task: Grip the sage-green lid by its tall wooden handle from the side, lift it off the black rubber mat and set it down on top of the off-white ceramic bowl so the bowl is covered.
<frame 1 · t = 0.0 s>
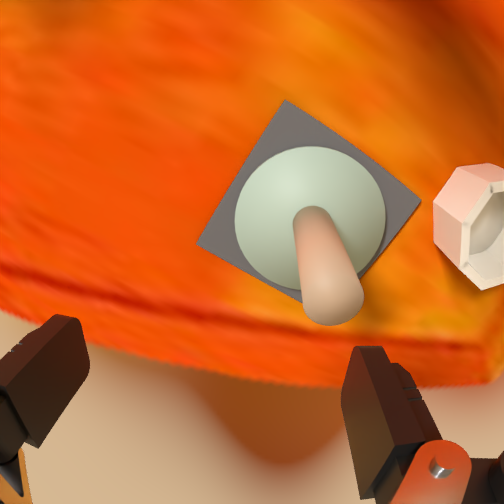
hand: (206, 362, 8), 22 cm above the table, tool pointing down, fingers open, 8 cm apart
bowl: (474, 214, 28), on the table
lid: (311, 220, 29), resting on mat
mat: (310, 218, 30), on the table
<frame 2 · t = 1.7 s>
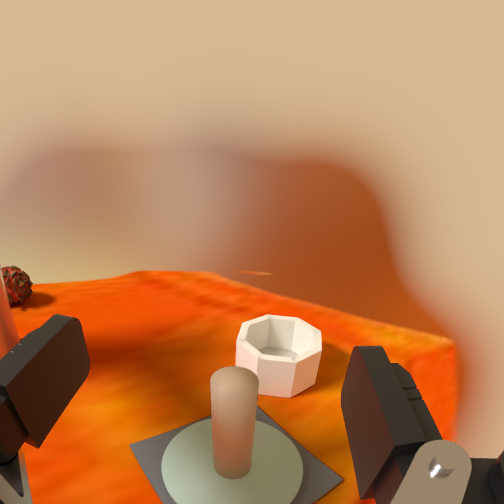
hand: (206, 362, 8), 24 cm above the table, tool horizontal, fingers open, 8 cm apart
bowl: (276, 370, 44), on the table
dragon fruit: (13, 302, 53), on the table
lid: (232, 469, 26), resting on mat
mat: (232, 472, 27), on the table
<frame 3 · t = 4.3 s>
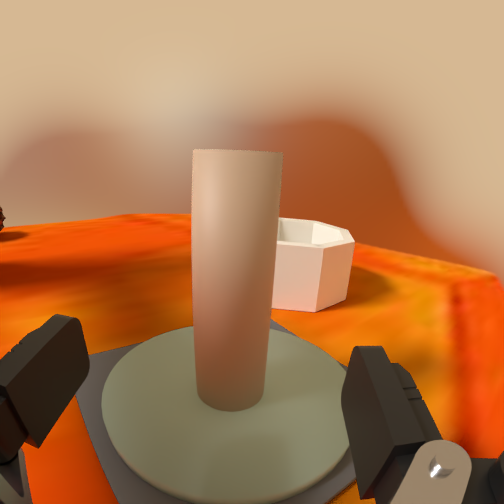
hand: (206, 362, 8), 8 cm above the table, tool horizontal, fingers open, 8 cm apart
bowl: (291, 285, 34), on the table
lid: (229, 401, 16), resting on mat
mat: (229, 406, 17), on the table
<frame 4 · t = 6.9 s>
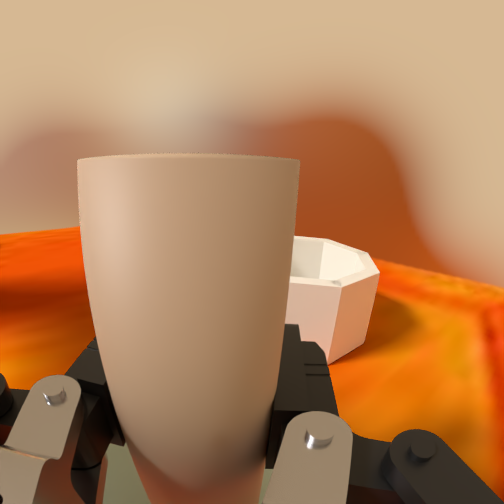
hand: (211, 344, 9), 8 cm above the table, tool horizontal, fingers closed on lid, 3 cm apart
bowl: (295, 323, 26), on the table
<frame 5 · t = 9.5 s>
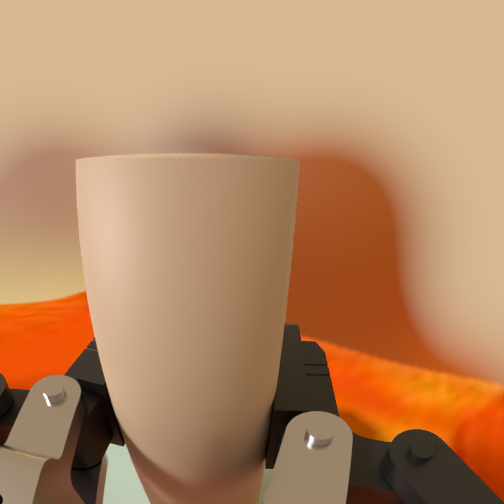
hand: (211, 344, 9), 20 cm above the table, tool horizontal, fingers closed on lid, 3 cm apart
when the fingers open (15 cm above the table, at t = 12.4 s): lid drops 1 cm, resting on bowl.
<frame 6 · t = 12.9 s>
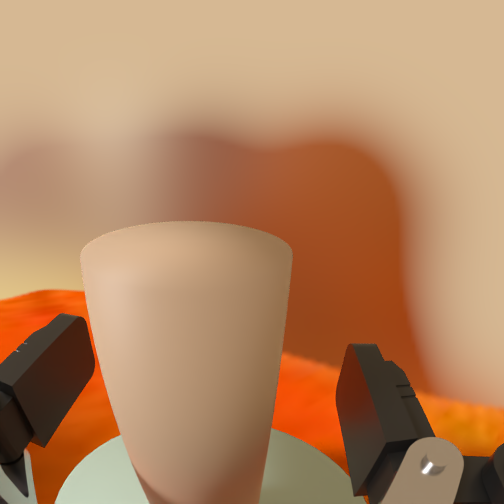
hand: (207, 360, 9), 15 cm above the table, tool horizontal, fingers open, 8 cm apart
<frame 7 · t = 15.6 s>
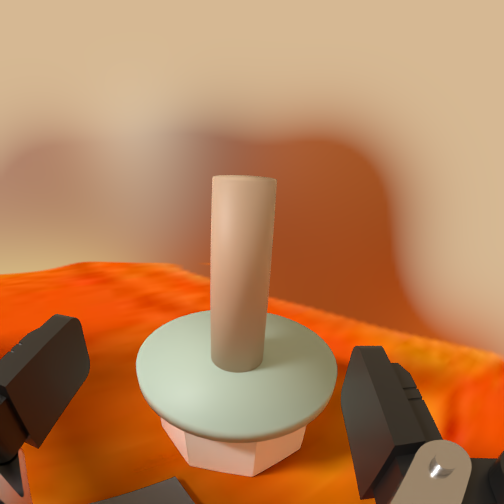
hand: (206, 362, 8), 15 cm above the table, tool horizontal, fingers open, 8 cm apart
bowl: (234, 420, 24), on the table
lid: (236, 367, 22), point 6 cm above the table, touching bowl
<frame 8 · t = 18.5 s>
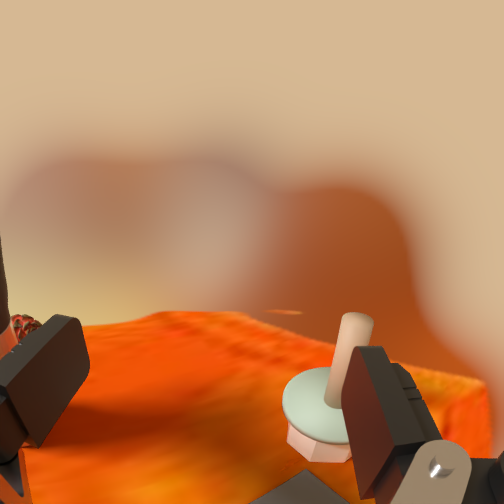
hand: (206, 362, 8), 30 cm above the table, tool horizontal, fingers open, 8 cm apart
bowl: (326, 432, 39), on the table
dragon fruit: (27, 352, 48), on the table
lid: (335, 404, 37), point 6 cm above the table, touching bowl
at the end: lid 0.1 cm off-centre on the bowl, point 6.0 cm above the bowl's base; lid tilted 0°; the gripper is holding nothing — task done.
